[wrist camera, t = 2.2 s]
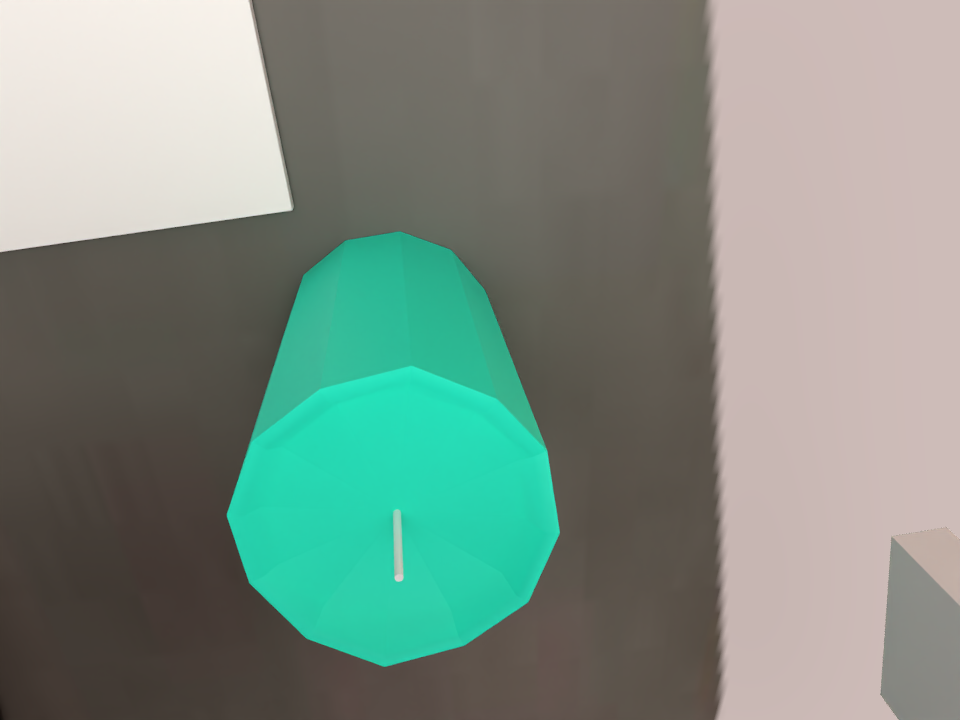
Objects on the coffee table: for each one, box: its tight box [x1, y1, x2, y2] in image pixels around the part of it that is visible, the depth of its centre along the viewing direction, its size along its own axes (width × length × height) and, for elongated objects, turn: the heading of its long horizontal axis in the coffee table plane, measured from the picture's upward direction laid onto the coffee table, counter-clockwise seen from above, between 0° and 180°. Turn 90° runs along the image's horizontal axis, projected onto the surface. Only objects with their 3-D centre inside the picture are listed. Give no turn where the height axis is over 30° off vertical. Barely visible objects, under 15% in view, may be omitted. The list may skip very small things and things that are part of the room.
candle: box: [227, 231, 560, 667], centre depth 19 cm, size 6×6×12 cm
